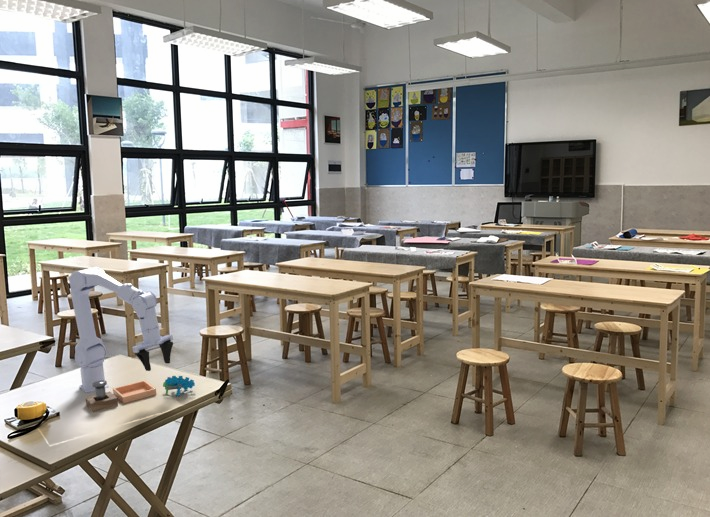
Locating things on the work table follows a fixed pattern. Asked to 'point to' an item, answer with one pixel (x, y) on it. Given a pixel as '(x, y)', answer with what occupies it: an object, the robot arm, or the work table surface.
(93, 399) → the pin block
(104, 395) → the pin
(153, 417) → the work table surface
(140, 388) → the tray
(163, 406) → the work table surface
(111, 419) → the work table surface
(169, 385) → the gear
